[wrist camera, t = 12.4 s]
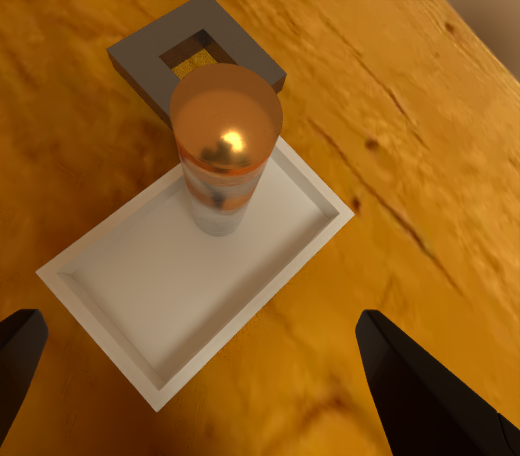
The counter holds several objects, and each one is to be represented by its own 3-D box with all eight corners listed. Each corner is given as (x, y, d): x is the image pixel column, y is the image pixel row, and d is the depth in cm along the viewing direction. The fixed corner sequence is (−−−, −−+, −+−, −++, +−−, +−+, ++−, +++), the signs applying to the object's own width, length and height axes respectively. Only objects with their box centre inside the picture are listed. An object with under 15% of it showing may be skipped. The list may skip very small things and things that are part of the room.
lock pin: (252, 215, 22) (304, 122, 10) (216, 246, 21) (222, 187, 9) (220, 181, 22) (232, 44, 10) (183, 210, 22) (145, 101, 9)
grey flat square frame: (281, 90, 26) (286, 74, 24) (195, 155, 24) (193, 143, 22) (206, 12, 27) (206, -9, 25) (114, 68, 24) (106, 49, 22)
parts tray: (338, 223, 24) (354, 214, 21) (165, 394, 20) (156, 412, 17) (248, 129, 25) (253, 107, 22) (60, 274, 20) (35, 272, 17)
